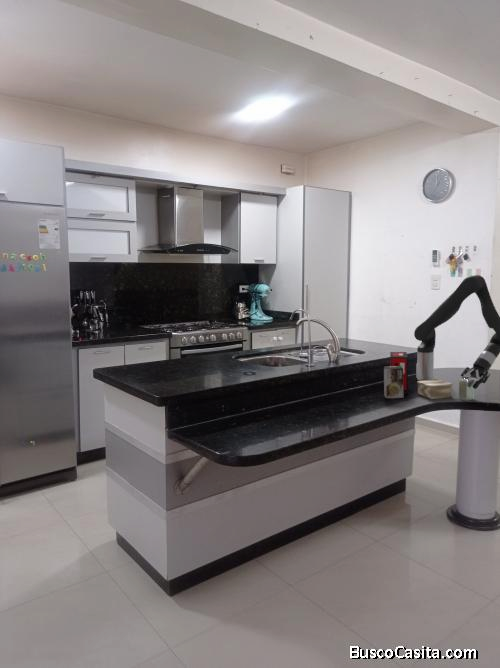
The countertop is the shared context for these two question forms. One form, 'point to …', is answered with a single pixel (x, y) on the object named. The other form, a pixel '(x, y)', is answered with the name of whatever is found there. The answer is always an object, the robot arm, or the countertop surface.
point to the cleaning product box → (402, 361)
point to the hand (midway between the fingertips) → (467, 386)
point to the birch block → (434, 388)
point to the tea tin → (466, 389)
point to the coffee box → (393, 382)
